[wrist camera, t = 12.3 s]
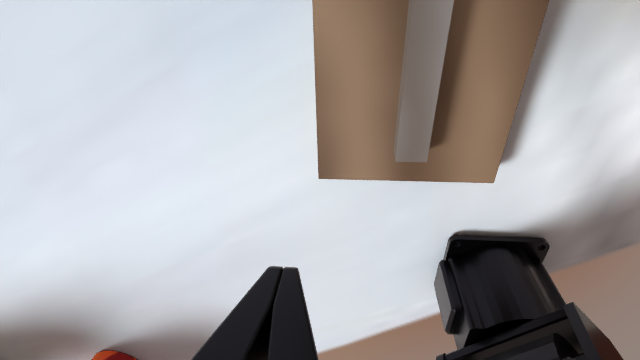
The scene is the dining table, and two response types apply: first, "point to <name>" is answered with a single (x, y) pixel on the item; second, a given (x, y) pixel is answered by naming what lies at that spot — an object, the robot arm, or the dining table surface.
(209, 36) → the dining table surface
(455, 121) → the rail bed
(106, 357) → the paper cup
